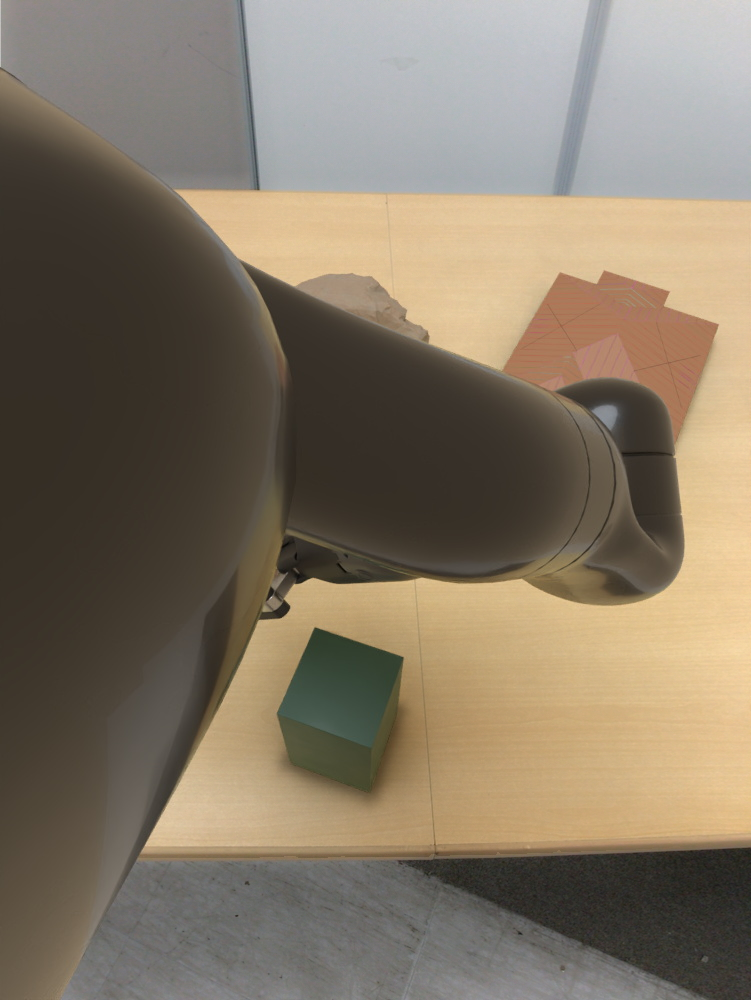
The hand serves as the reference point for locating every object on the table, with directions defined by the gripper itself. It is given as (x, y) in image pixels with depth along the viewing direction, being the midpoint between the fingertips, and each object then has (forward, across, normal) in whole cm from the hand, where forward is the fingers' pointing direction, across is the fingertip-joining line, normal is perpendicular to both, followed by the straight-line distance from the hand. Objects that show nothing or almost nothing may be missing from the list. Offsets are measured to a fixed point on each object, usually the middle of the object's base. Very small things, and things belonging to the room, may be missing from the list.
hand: (251, 541), depth 60 cm
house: (+3, -54, +26) cm, 60 cm away
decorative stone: (+25, -42, +4) cm, 50 cm away
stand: (+6, +5, +22) cm, 24 cm away
